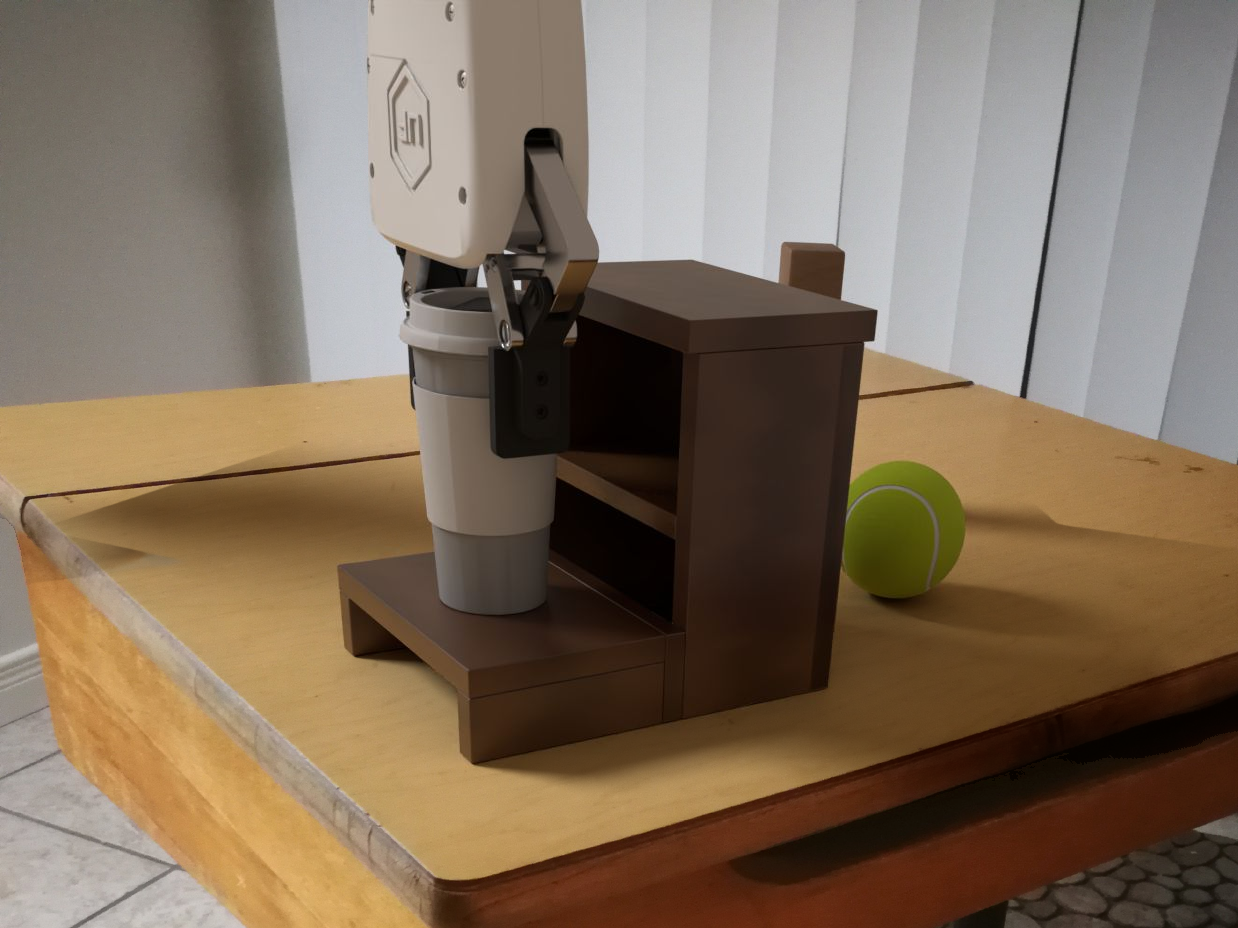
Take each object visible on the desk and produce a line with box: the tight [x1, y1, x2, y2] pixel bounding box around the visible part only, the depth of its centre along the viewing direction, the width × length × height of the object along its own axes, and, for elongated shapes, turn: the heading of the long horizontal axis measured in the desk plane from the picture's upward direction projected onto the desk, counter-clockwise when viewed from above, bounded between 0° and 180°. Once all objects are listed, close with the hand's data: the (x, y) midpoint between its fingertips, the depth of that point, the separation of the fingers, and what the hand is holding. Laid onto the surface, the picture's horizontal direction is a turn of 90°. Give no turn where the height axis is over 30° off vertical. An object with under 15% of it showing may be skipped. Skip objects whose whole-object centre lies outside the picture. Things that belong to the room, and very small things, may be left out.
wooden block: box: [777, 241, 846, 300], centre depth 89 cm, size 7×3×15 cm, turn 7°
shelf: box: [336, 259, 879, 764], centre depth 62 cm, size 18×14×16 cm
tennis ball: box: [841, 460, 966, 599], centre depth 76 cm, size 7×7×7 cm
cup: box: [398, 286, 558, 615], centre depth 59 cm, size 7×7×12 cm
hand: (487, 428), depth 59 cm, fingers closed on cup, 6 cm apart
